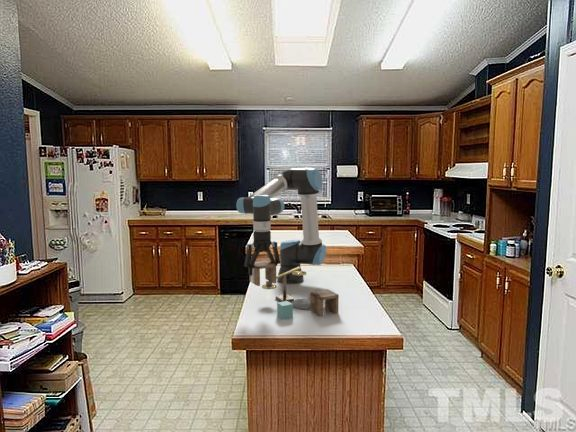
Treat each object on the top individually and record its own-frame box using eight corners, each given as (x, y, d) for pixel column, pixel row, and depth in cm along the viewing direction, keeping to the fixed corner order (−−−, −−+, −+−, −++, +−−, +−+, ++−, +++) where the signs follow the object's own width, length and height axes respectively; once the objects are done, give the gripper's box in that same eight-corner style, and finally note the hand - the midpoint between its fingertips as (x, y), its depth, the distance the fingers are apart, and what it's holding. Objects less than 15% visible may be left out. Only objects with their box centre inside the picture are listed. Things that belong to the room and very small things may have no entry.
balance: (259, 301, 192) (258, 270, 190) (301, 294, 203) (301, 264, 201) (266, 306, 185) (265, 273, 183) (309, 298, 196) (309, 267, 194)
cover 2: (310, 310, 179) (310, 292, 178) (327, 307, 183) (327, 289, 182) (321, 316, 171) (321, 297, 170) (338, 313, 175) (338, 294, 174)
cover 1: (249, 281, 178) (249, 262, 177) (267, 278, 182) (267, 260, 181) (257, 286, 170) (257, 266, 169) (276, 283, 174) (276, 264, 173)
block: (277, 316, 173) (277, 302, 172) (287, 314, 175) (287, 300, 174) (282, 319, 168) (282, 306, 168) (292, 317, 171) (292, 304, 170)
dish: (287, 303, 189) (287, 301, 189) (309, 299, 194) (309, 297, 194) (299, 311, 178) (299, 308, 178) (322, 306, 184) (322, 304, 184)
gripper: (241, 233, 165) (242, 286, 168) (288, 229, 175) (288, 279, 178) (235, 231, 172) (236, 282, 174) (280, 227, 182) (280, 275, 184)
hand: (262, 280), depth 176 cm, fingers closed on cover 1, 9 cm apart
